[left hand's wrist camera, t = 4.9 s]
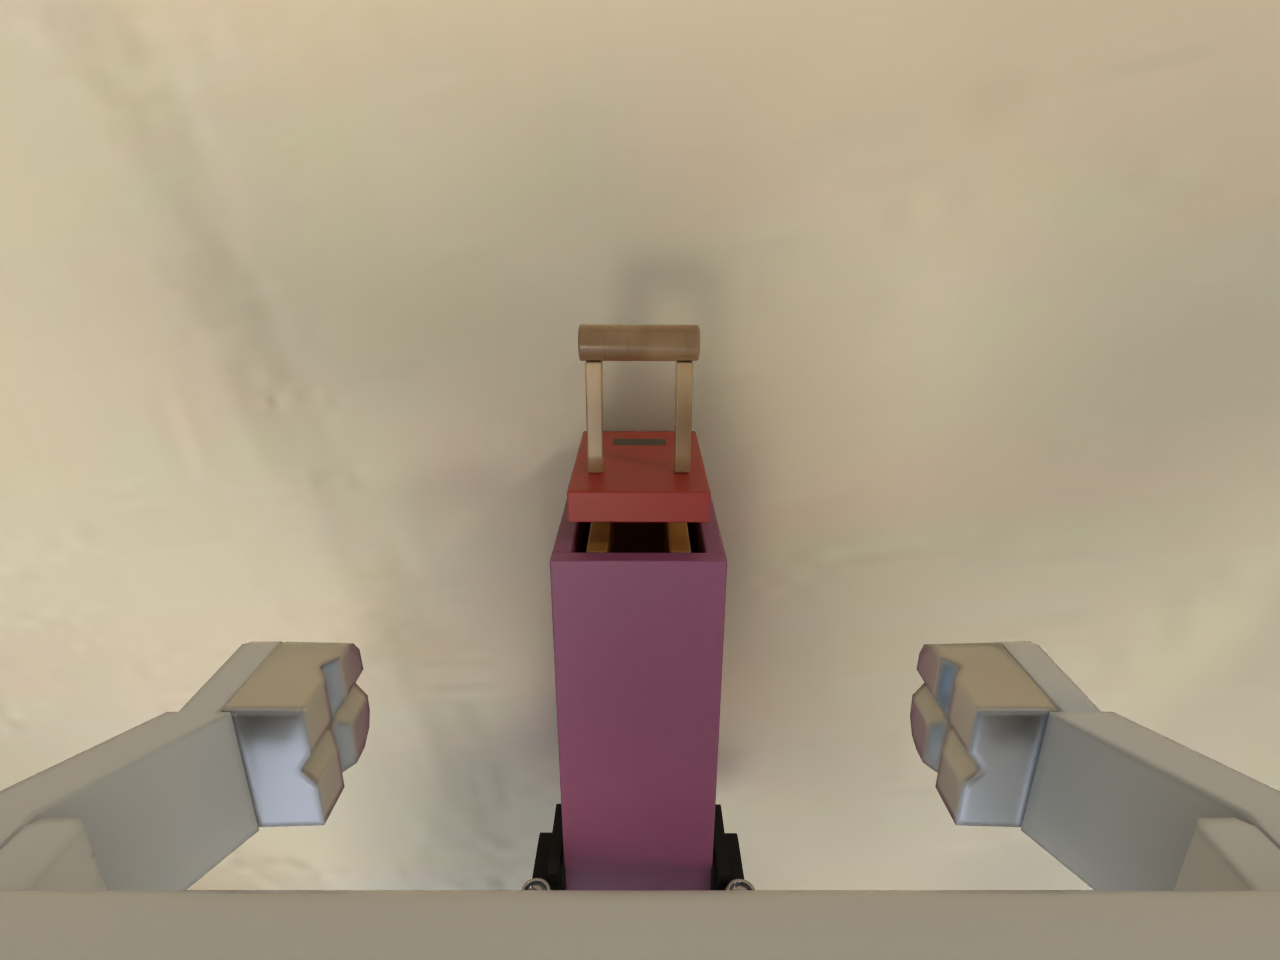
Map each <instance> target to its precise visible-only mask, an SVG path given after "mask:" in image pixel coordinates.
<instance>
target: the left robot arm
mask: <svg viewBox="0 0 1280 960" xmlns="http://www.w3.org/2000/svg"><path fill="white" fill-rule="evenodd" d="M362 670H363V665H362V660H361V655H360V650H359V649H358V648H357V647H356V646H355V645H354V644H353V643H316V642H285V643H284V642H249V643H246V644H242V645H241V646H240V647H239V648H238V649H237V651H236V652H235V653H234V654H233V655H232V656H231V657H230V658H229V659H228V660H227V661H226V662H225V663H224V664H223V665H222V666H221V668H220V669H219V670H218V671H217V672H216V673H215V674H214V675H213V676H212V677H211V678H210V679H209V680H208V681H207V682H206V683H205V684H204V686H203V687H202V688H201V689H200V690H199V691H198V692H197V693H196V694H195V695H194V696H193V697H192V698H191V699H190V700H189V701H188V702H187V704H186V705H185V706H184V707H183V708H182V709H181V710H180V711H179V712H166V713H164V714H162V715H160V716H157V717H155V718H153V719H151V720H149V721H147V722H145V723H143V724H141V725H139V726H136V727H134V728H132V729H130V730H128V731H126V732H124V733H122V734H120V735H118V736H115V737H113V738H111V739H109V740H107V741H105V742H103V743H101V744H99V745H97V746H94V747H92V748H90V749H88V750H86V751H84V752H82V753H80V754H78V755H75V756H73V757H71V758H69V759H67V760H65V761H63V762H61V763H59V764H57V765H54V766H52V767H50V768H48V769H46V770H44V771H42V772H40V773H38V774H36V775H33V776H31V777H29V778H27V779H25V780H23V781H21V782H19V783H17V784H15V785H12V786H10V787H8V788H6V789H4V790H2V791H0V960H1280V791H1278V790H1276V789H1273V788H1271V787H1269V786H1267V785H1265V784H1263V783H1261V782H1259V781H1257V780H1255V779H1252V778H1250V777H1248V776H1246V775H1244V774H1242V773H1240V772H1238V771H1236V770H1234V769H1232V768H1229V767H1227V766H1225V765H1223V764H1221V763H1219V762H1217V761H1215V760H1213V759H1211V758H1208V757H1206V756H1204V755H1202V754H1200V753H1198V752H1196V751H1194V750H1192V749H1190V748H1188V747H1185V746H1183V745H1181V744H1179V743H1177V742H1175V741H1173V740H1171V739H1169V738H1167V737H1164V736H1162V735H1160V734H1158V733H1156V732H1154V731H1152V730H1150V729H1148V728H1146V727H1143V726H1141V725H1139V724H1137V723H1135V722H1133V721H1131V720H1129V719H1127V718H1125V717H1123V716H1120V715H1118V714H1116V713H1114V712H1101V711H1100V710H1099V709H1098V708H1097V707H1096V706H1095V705H1094V703H1093V702H1092V701H1091V700H1090V699H1089V698H1088V697H1087V696H1086V695H1085V694H1084V693H1083V692H1082V691H1081V690H1080V689H1079V688H1078V687H1077V685H1076V684H1075V683H1074V682H1073V681H1072V680H1071V679H1070V678H1069V677H1068V676H1067V675H1066V674H1065V673H1064V672H1063V671H1062V670H1061V668H1060V667H1059V666H1058V665H1057V664H1056V663H1055V662H1054V661H1053V660H1052V659H1051V658H1050V657H1049V656H1048V655H1047V654H1046V653H1045V651H1044V650H1043V649H1042V648H1041V647H1040V646H1039V645H1037V644H1035V643H1032V642H1030V641H1021V642H994V643H965V644H924V645H923V648H922V650H921V652H920V654H919V659H918V665H917V670H918V672H919V674H920V675H921V677H922V679H923V680H924V682H925V683H924V684H923V685H922V686H921V687H920V688H919V689H918V690H917V691H916V692H915V693H914V694H913V696H912V704H911V712H910V719H911V730H912V736H913V740H914V743H915V746H916V749H917V751H918V753H919V755H920V757H921V759H922V761H923V763H924V764H926V765H927V766H929V767H930V768H932V769H933V770H935V771H936V772H938V775H937V781H936V788H937V790H938V792H939V794H940V796H941V798H942V800H943V802H944V804H945V805H946V807H947V809H948V811H949V813H950V815H951V817H952V819H953V821H954V822H955V824H956V825H968V826H1003V827H1022V828H1021V830H1022V831H1023V832H1024V833H1025V834H1026V835H1028V836H1029V837H1030V838H1031V839H1033V840H1034V841H1035V842H1036V843H1037V844H1039V845H1040V846H1041V847H1042V848H1044V849H1045V850H1046V851H1047V852H1048V853H1050V854H1051V855H1052V856H1053V857H1055V858H1056V859H1057V860H1058V861H1059V862H1061V863H1062V864H1063V865H1064V866H1066V867H1067V868H1068V869H1069V870H1070V871H1072V872H1073V873H1074V874H1075V875H1077V876H1078V877H1079V878H1080V879H1081V880H1083V881H1084V882H1085V883H1086V884H1088V885H1089V886H1090V887H1091V888H1093V889H1094V890H186V889H188V888H189V887H190V886H191V885H193V884H194V883H195V882H196V881H197V880H199V879H200V878H201V877H202V876H204V875H205V874H206V873H207V872H209V871H210V870H211V869H212V868H213V867H215V866H216V865H217V864H218V863H220V862H221V861H222V860H223V859H224V858H226V857H227V856H228V855H229V854H231V853H232V852H233V851H234V850H235V849H237V848H238V847H239V846H240V845H242V844H243V843H244V842H245V841H247V840H248V839H249V838H250V837H251V836H253V835H254V834H255V833H256V832H258V831H259V828H258V827H276V826H311V825H324V824H325V823H326V821H327V819H328V817H329V815H330V813H331V811H332V809H333V807H334V806H335V804H336V802H337V800H338V798H339V796H340V794H341V792H342V790H343V788H344V781H343V775H342V772H344V771H345V770H347V769H348V768H350V767H351V766H353V765H354V764H356V763H357V761H358V759H359V757H360V755H361V753H362V751H363V749H364V747H365V743H366V739H367V734H368V730H369V715H370V709H369V702H368V696H367V694H366V693H365V692H364V691H363V690H362V689H361V688H360V687H359V686H358V685H357V684H356V683H355V682H356V680H357V679H358V677H359V675H360V674H361V672H362Z"/></svg>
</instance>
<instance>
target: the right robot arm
mask: <svg viewBox="0 0 1280 960" xmlns="http://www.w3.org/2000/svg"><path fill="white" fill-rule="evenodd" d="M521 890H566V887H565V866H564V850H563V829H562V807H561V804H557V805H556V811H555V818H554V825H553V832H552V833H540V835H539V841H538V847H537V853H536V859H535V865H534V871H533V878H532V879H530V880H529V881H527V882H526V883H525V884H524V885H523V887H522V889H521ZM711 890H755V889H754V887H753V885H752V884H751V883H750V882H748V881H746V880H744V875H743V869H742V862H741V856H740V849H739V842H738V836H737V834H736V833H724V826H723V819H722V811H721V805H715V820H714V841H713V861H712V876H711Z"/></svg>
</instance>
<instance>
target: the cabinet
mask: <svg viewBox="0 0 1280 960" xmlns="http://www.w3.org/2000/svg"><path fill="white" fill-rule="evenodd" d="M590 526H591V522H569V521H568V508H567V500H566V504H565V508H564V512H563V515H562V519H561V523H560V526H559V530H558V534H557V538H556V541H555V545H554V549H553V552H552V556H551V559H550V574H551V595H552V616H553V638H554V659H555V680H556V701H557V723H558V744H559V765H560V786H561V807H562V829H563V850H564V866H565V887H566V890H711V876H712V861H713V841H714V820H715V800H716V780H717V759H718V739H719V719H720V698H721V678H722V658H723V637H724V617H725V596H726V576H727V559H726V555H725V551H724V547H723V543H722V539H721V535H720V531H719V527H718V523H717V519H716V515H715V511H714V507H713V503H712V499H711V495H710V519H709V522H687V527H688V533H689V540H690V547H691V553H586V549H587V543H588V537H589V532H590Z"/></svg>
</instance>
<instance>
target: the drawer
mask: <svg viewBox="0 0 1280 960" xmlns="http://www.w3.org/2000/svg"><path fill="white" fill-rule="evenodd" d="M578 350H579V358H580V360H581V361H586V363H585V376H586V416H587V431H584V433H583V436H582V440H581V444H580V447H579V451H578V454H577V458H576V462H575V465H574V469H573V473H572V476H571V480H570V484H569V487H568V491H567V508H568V521H569V522H591V526H590V532H589V537H588V543H587V549H586V553H691V547H690V540H689V533H688V527H687V522H709V519H710V489H709V485H708V481H707V477H706V473H705V469H704V465H703V461H702V457H701V453H700V449H699V445H698V441H697V437H696V433H695V432H691V417H692V381H693V363H692V361H698V359H699V352H700V329H699V326H698V325H580V326H579V331H578ZM602 361H676V379H675V431H604V423H603V363H602Z"/></svg>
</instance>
